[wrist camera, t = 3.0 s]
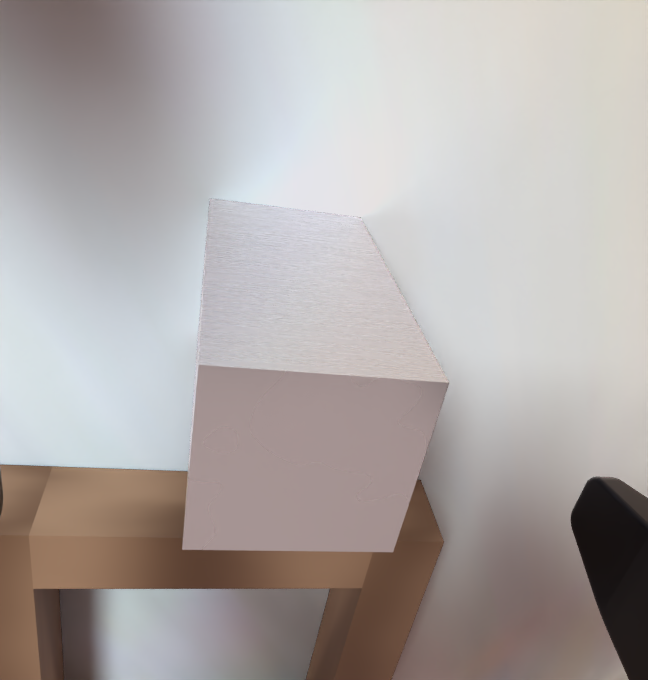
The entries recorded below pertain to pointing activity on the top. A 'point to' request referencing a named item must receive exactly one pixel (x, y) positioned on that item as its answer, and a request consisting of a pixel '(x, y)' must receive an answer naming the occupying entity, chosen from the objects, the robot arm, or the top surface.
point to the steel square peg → (304, 388)
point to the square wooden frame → (188, 567)
